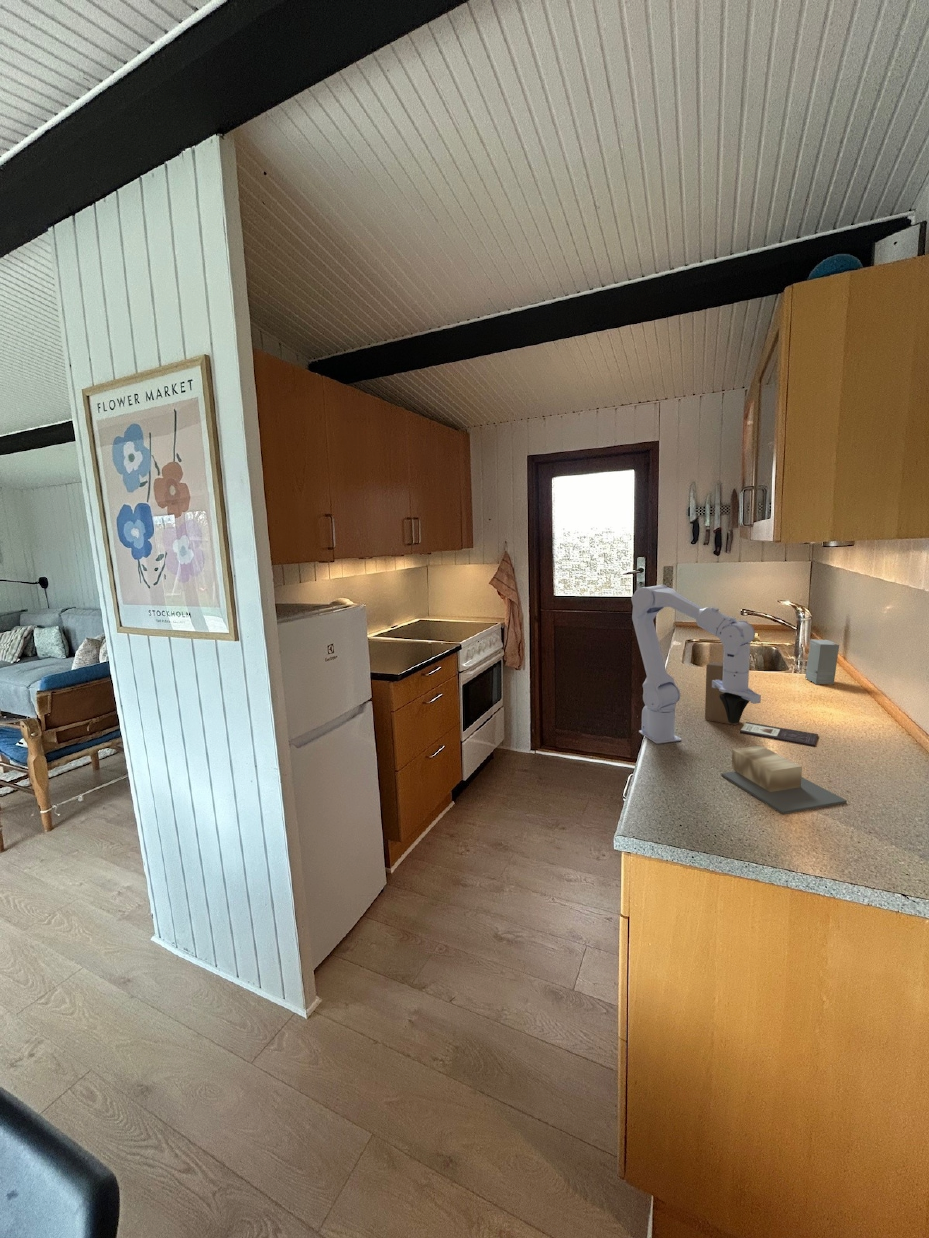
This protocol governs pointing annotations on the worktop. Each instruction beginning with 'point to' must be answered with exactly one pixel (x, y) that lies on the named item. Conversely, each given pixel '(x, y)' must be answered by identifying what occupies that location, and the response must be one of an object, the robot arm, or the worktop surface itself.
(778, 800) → the mat
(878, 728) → the worktop surface
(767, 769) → the birch block
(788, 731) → the chocolate bar
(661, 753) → the worktop surface
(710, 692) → the wooden block
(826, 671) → the skincare box
